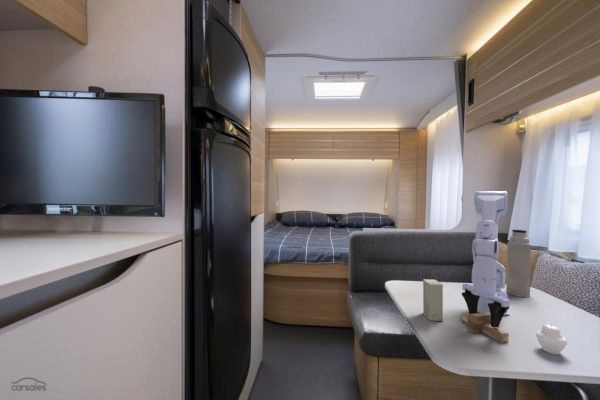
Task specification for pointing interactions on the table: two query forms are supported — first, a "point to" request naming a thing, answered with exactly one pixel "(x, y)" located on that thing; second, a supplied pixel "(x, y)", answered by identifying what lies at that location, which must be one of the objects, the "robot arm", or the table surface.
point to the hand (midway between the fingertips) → (483, 320)
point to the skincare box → (433, 299)
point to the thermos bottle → (518, 264)
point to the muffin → (551, 339)
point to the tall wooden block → (478, 321)
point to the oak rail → (490, 330)
